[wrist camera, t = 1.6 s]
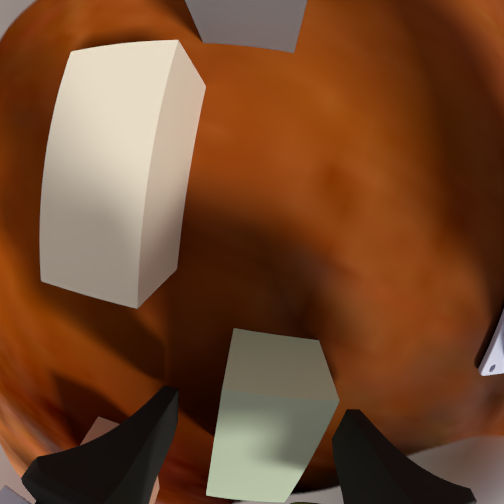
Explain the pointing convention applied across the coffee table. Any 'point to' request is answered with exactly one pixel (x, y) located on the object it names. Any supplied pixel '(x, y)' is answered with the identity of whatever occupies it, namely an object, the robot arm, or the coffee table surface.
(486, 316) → the coffee table surface
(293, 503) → the dumbbell
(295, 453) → the brick sage
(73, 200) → the brick cream
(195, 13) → the brick charcoal
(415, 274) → the coffee table surface
